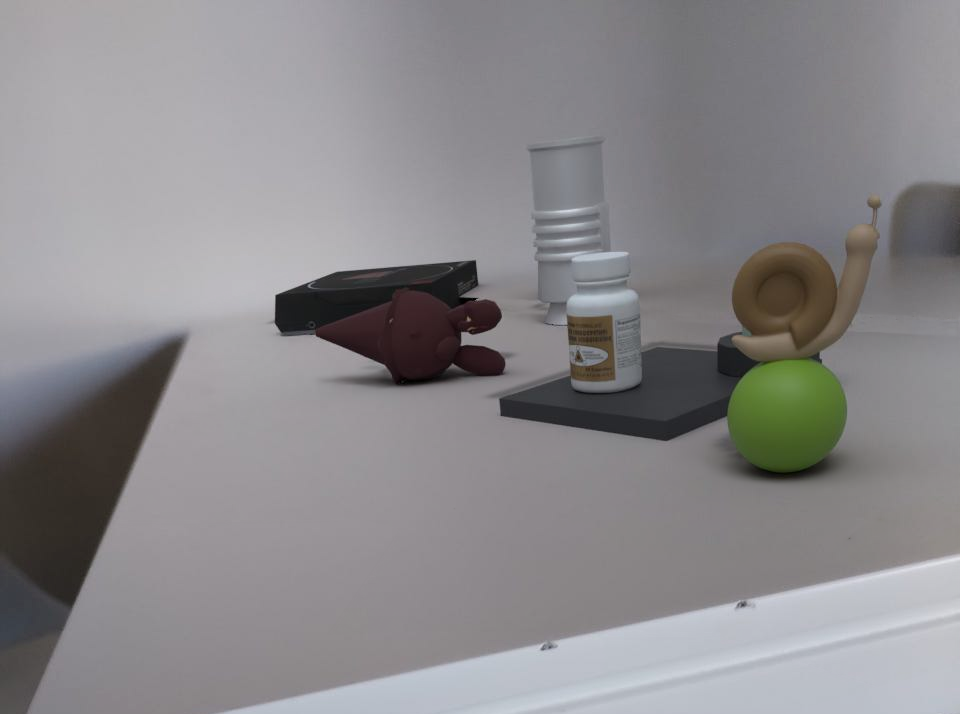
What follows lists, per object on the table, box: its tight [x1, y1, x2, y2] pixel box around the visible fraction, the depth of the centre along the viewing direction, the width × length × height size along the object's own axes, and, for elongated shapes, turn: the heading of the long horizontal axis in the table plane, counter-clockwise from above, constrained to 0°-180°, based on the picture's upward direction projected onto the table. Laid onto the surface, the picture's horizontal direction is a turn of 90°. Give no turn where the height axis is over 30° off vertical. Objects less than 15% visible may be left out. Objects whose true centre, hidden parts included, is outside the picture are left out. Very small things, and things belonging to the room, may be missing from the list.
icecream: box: [314, 287, 506, 385], centre depth 77 cm, size 7×7×15 cm
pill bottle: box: [566, 251, 642, 393], centre depth 63 cm, size 4×4×8 cm
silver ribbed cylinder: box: [525, 134, 612, 326], centre depth 92 cm, size 7×7×15 cm
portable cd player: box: [274, 259, 479, 337], centre depth 109 cm, size 16×17×4 cm
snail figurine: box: [726, 193, 883, 474], centre depth 47 cm, size 5×6×12 cm
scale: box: [498, 331, 823, 442], centre depth 64 cm, size 16×14×3 cm
